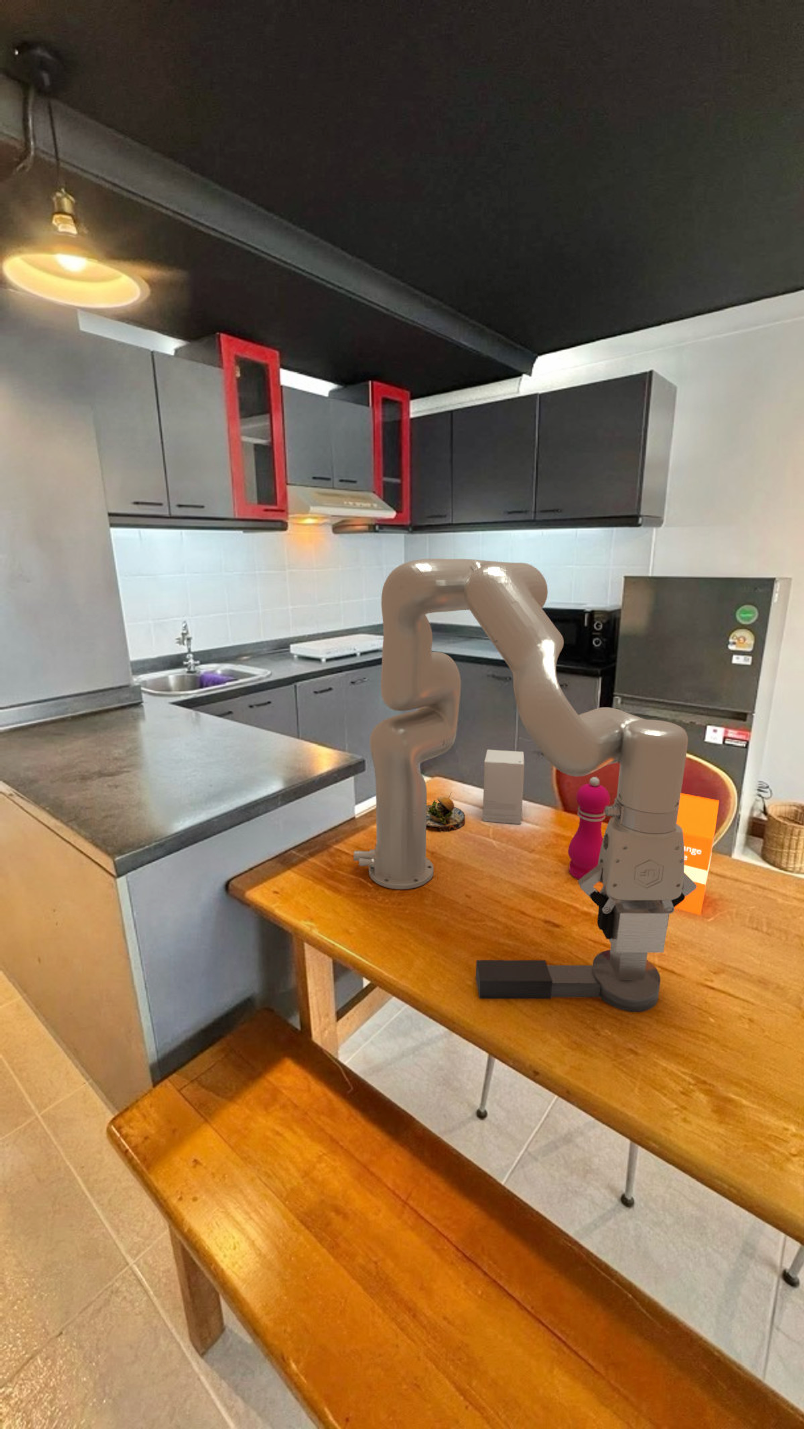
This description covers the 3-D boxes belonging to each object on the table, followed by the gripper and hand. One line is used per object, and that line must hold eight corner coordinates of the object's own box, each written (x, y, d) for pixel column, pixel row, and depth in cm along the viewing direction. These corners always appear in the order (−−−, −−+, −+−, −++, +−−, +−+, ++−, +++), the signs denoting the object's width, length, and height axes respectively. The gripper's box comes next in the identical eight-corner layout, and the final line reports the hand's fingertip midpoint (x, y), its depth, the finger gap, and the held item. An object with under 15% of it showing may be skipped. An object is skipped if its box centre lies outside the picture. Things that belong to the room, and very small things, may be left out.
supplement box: (521, 809, 141) (525, 751, 137) (521, 825, 132) (525, 763, 128) (484, 805, 143) (486, 748, 139) (481, 821, 134) (484, 760, 130)
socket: (615, 952, 77) (620, 913, 76) (599, 923, 83) (603, 886, 82) (663, 952, 77) (669, 913, 76) (644, 923, 83) (648, 886, 82)
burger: (416, 809, 141) (417, 781, 139) (465, 811, 140) (466, 783, 138) (412, 832, 130) (412, 801, 128) (465, 834, 128) (466, 804, 126)
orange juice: (700, 915, 99) (718, 808, 94) (646, 899, 104) (659, 797, 99) (705, 893, 106) (721, 792, 100) (653, 879, 110) (666, 782, 105)
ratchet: (481, 1012, 78) (484, 962, 76) (473, 966, 87) (475, 920, 85) (669, 1012, 78) (676, 962, 76) (642, 966, 87) (648, 920, 85)
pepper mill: (600, 864, 116) (610, 771, 110) (609, 884, 109) (620, 785, 103) (563, 862, 116) (571, 769, 111) (569, 882, 109) (578, 784, 104)
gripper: (588, 827, 72) (576, 950, 77) (727, 827, 72) (706, 951, 77) (571, 802, 79) (561, 916, 84) (697, 802, 79) (680, 916, 84)
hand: (631, 932), depth 80 cm, fingers closed on socket, 6 cm apart
